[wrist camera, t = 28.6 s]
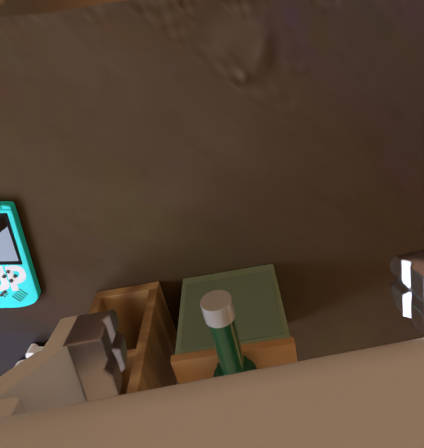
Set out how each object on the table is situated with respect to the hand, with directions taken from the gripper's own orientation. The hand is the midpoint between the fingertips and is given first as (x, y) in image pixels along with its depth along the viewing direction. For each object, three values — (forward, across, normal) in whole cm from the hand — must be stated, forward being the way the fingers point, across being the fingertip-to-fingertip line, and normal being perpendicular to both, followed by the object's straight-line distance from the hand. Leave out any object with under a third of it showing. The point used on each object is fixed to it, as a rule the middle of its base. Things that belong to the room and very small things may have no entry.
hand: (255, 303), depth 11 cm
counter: (+39, 0, +23) cm, 45 cm away
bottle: (+24, +1, +21) cm, 32 cm away
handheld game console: (+40, +30, +9) cm, 51 cm away
